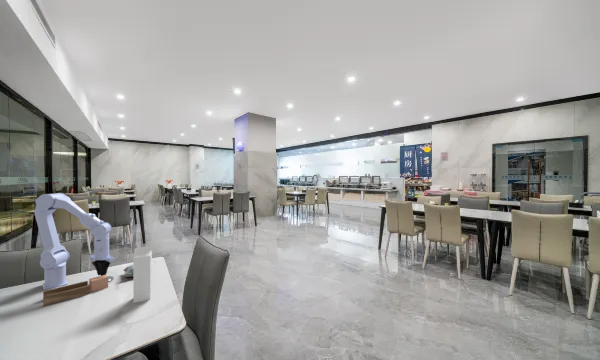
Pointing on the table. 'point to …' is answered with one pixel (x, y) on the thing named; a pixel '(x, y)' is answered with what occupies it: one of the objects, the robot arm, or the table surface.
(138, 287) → the milk
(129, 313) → the table surface
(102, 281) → the block
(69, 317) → the table surface
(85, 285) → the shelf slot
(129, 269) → the packaged food
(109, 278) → the coaster
